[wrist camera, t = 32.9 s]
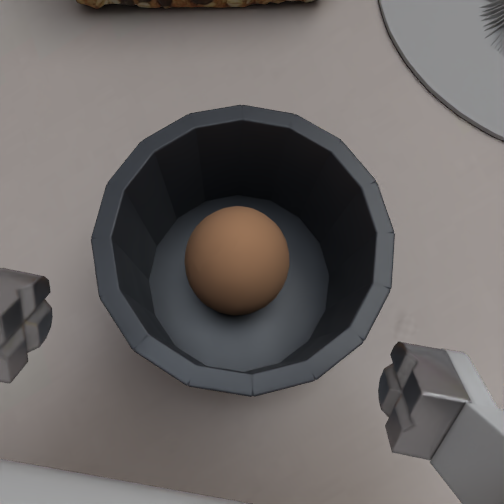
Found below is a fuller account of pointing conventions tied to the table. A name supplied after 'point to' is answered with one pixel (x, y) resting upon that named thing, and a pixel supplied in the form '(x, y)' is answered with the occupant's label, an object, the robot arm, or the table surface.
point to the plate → (454, 53)
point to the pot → (278, 210)
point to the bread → (181, 3)
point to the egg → (237, 260)
